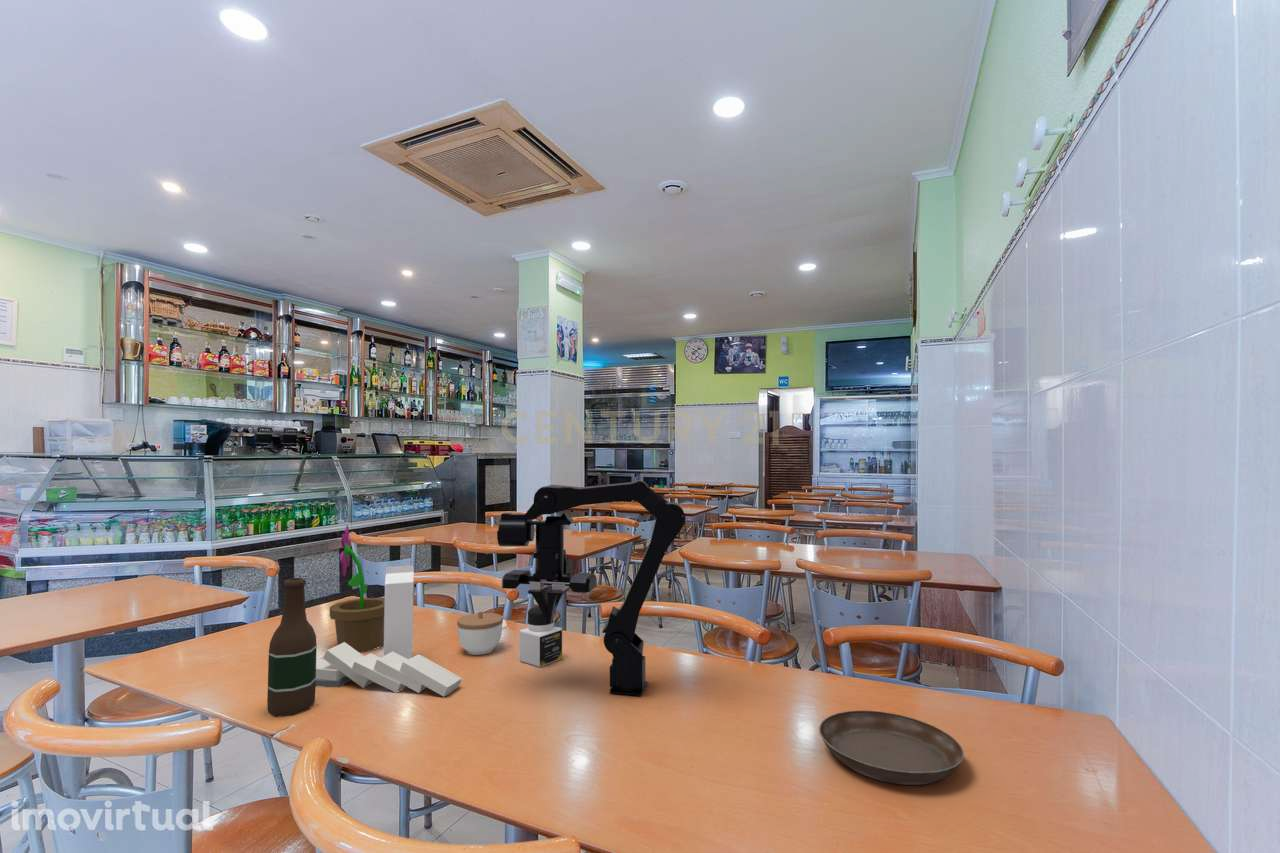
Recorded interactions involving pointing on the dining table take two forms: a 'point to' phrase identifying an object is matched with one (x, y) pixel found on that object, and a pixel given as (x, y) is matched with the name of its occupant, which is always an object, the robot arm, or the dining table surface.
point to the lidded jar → (479, 632)
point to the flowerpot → (358, 610)
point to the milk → (399, 611)
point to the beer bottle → (292, 656)
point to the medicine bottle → (540, 640)
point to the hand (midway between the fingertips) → (549, 623)
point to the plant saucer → (891, 747)
